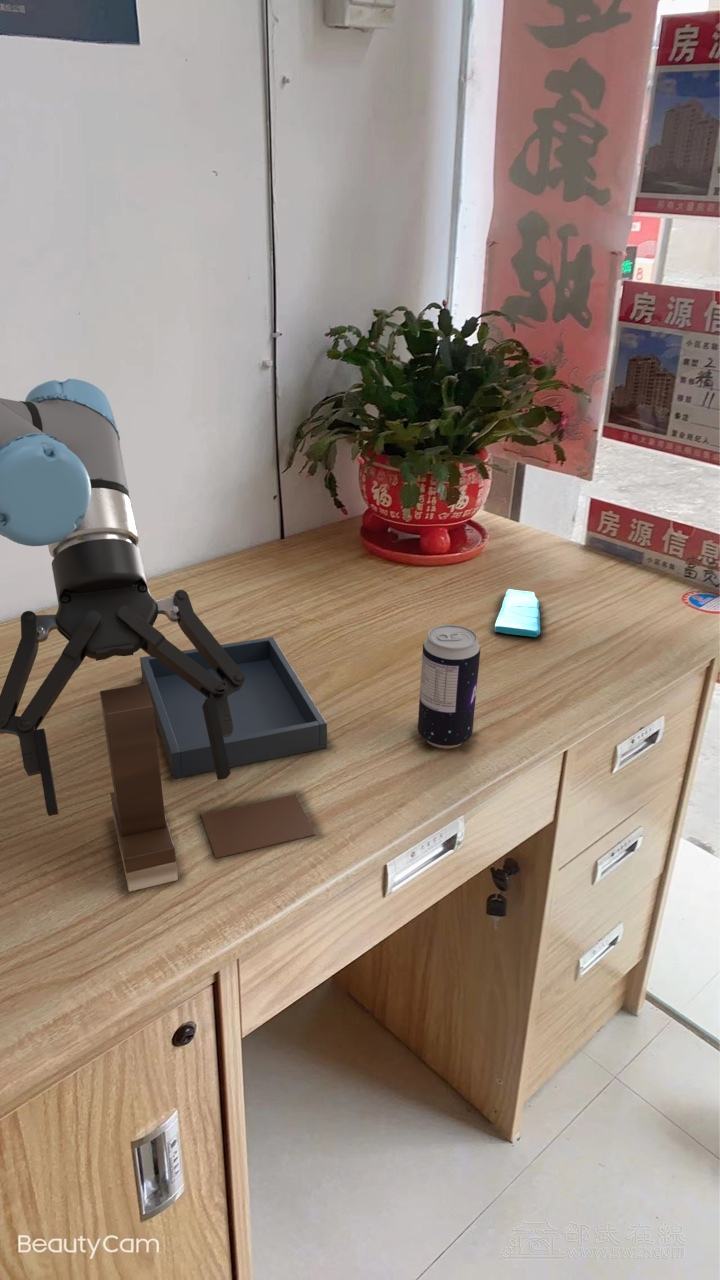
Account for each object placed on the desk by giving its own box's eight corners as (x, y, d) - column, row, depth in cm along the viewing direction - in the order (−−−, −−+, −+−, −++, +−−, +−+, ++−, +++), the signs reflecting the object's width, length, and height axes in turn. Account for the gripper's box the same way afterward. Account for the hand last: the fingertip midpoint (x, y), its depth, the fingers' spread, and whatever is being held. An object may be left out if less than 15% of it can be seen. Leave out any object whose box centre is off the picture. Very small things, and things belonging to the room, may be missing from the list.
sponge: (549, 594, 121) (508, 584, 122) (540, 633, 111) (494, 622, 112) (547, 604, 122) (505, 594, 123) (537, 644, 112) (492, 632, 113)
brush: (178, 880, 73) (161, 724, 66) (128, 892, 72) (106, 734, 64) (159, 813, 80) (143, 666, 73) (114, 823, 79) (93, 674, 72)
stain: (215, 858, 75) (215, 857, 75) (200, 815, 80) (200, 814, 80) (315, 834, 78) (315, 834, 78) (295, 794, 83) (295, 794, 83)
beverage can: (476, 752, 90) (487, 649, 84) (421, 753, 89) (428, 650, 84) (466, 721, 95) (475, 622, 89) (413, 722, 94) (419, 623, 89)
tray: (174, 779, 85) (171, 753, 83) (142, 680, 101) (139, 657, 100) (327, 747, 90) (327, 723, 89) (273, 658, 106) (273, 636, 105)
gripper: (231, 552, 84) (281, 770, 78) (-54, 588, 75) (-20, 834, 70) (243, 518, 77) (298, 754, 72) (-70, 554, 69) (-32, 824, 63)
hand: (141, 795), depth 71 cm, fingers open, 13 cm apart
